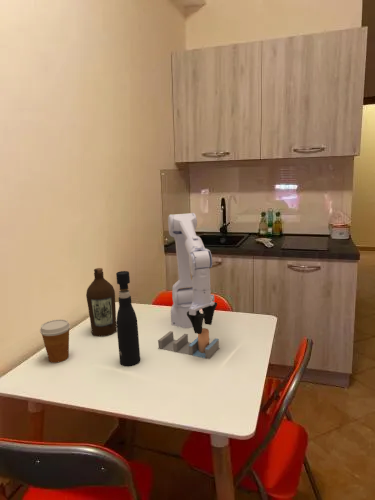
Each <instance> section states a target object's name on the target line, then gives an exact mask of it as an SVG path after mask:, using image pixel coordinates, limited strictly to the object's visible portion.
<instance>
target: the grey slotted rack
mask: <svg viewBox="0 0 375 500" xmlns="http://www.w3.org/2000/svg"><path fill="white" fill-rule="evenodd" d="M174 337H175V336H174V331H172V330H170V331H169V332H167V333H166V334H165V335H163V336H162V337H160V338H159V339H158V340H157V342H158V347H157V349H158V350H163V351H168V352H173V353H179V354H183V355H188V356H192V357H198V358H202V359H208V360H211V358H212V357H213V356H215V355H216V353H217V352H218V351H219V350H220V340H219V338H216V337H215V338H214V339H213V340H212V341H211V342H209V345H208V346H207V347H206V348H205V353H200V352H199V347H198V336H197V337H196V338H195V339H194V340H193V341H192V342H189V334H187V333H183V334H182V335H181V336H180V337H179V338H177V339H174Z"/></svg>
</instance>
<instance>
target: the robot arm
mask: <svg viewBox="0 0 375 500" xmlns="http://www.w3.org/2000/svg"><path fill="white" fill-rule="evenodd" d="M167 224H168V225H167V226H168V234H169V236H170V237H172V238H173V239H174V243H175V253H176V262H177V264H176V265H177V273H178V274H177V275H178V276H177V277H178V280H177V281H176V282H175V283H174V284H173V285H172V287H171V289H172V292H171V295H172V296H171V298H172V305H171V309H170V324H171V326H174V327H178V328H182V329H190V328H192V329H193V332H194V334H197V335H198V334H201V333H202V328H203V324H205V325H209V326H211V325H212V323H213V320H214V319H213V318H214V314H215V311H216V309H217V306H218V303H217V302H216V301H215V294H212V291H211V289H212V287H211V268H212V267H213V256H212V253H211V252H212V251H211V250H210V249H208V248H206V247H205V245H204V242H203V240H202V238H201V237H200V236H199V235H197V233H196V230H197V226H198V219H197V215H196V213H195V212H189V213H177V214H176V213H175V214H171V213H170V214H169V215H168V217H167ZM200 310H202V313H201V311H200Z"/></svg>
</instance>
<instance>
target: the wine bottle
mask: <svg viewBox="0 0 375 500" xmlns="http://www.w3.org/2000/svg"><path fill="white" fill-rule="evenodd" d="M115 275H116V284H117V285H119V293H118V296H119V297H118V311H117V312H116V326H117V330H116V333H117V342H118V343H117V345H118V354H119V355H118V356H119V364H120V365H121V366H122V367H134V366H137V365H139V364H140V362H141V352H140V349H141V348H140V339H139V326H138V318H137V315H136V311H135V309H134V307H133V305H132V296H131V294H130V293H131V292H130V290H129V284H130V283H131V280H130V271H127V270H121V271H117V272H116V274H115Z"/></svg>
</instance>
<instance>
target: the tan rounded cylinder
mask: <svg viewBox="0 0 375 500" xmlns="http://www.w3.org/2000/svg"><path fill="white" fill-rule="evenodd" d="M197 337H198V347H199V352H200V353H205V348H206V347H207V346H208V345H209V344H210V329H209V328H206V327H202V333H201V334H197Z"/></svg>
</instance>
